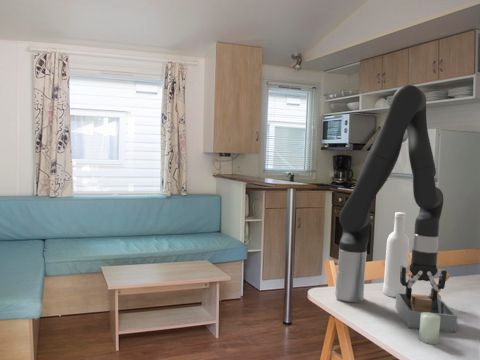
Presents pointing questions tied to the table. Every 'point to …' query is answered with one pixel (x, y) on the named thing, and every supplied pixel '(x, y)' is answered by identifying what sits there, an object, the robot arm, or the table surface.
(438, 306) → the tote
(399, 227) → the bottle
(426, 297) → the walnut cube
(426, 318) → the sage cylinder
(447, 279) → the figurine
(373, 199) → the robot arm
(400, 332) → the table surface
